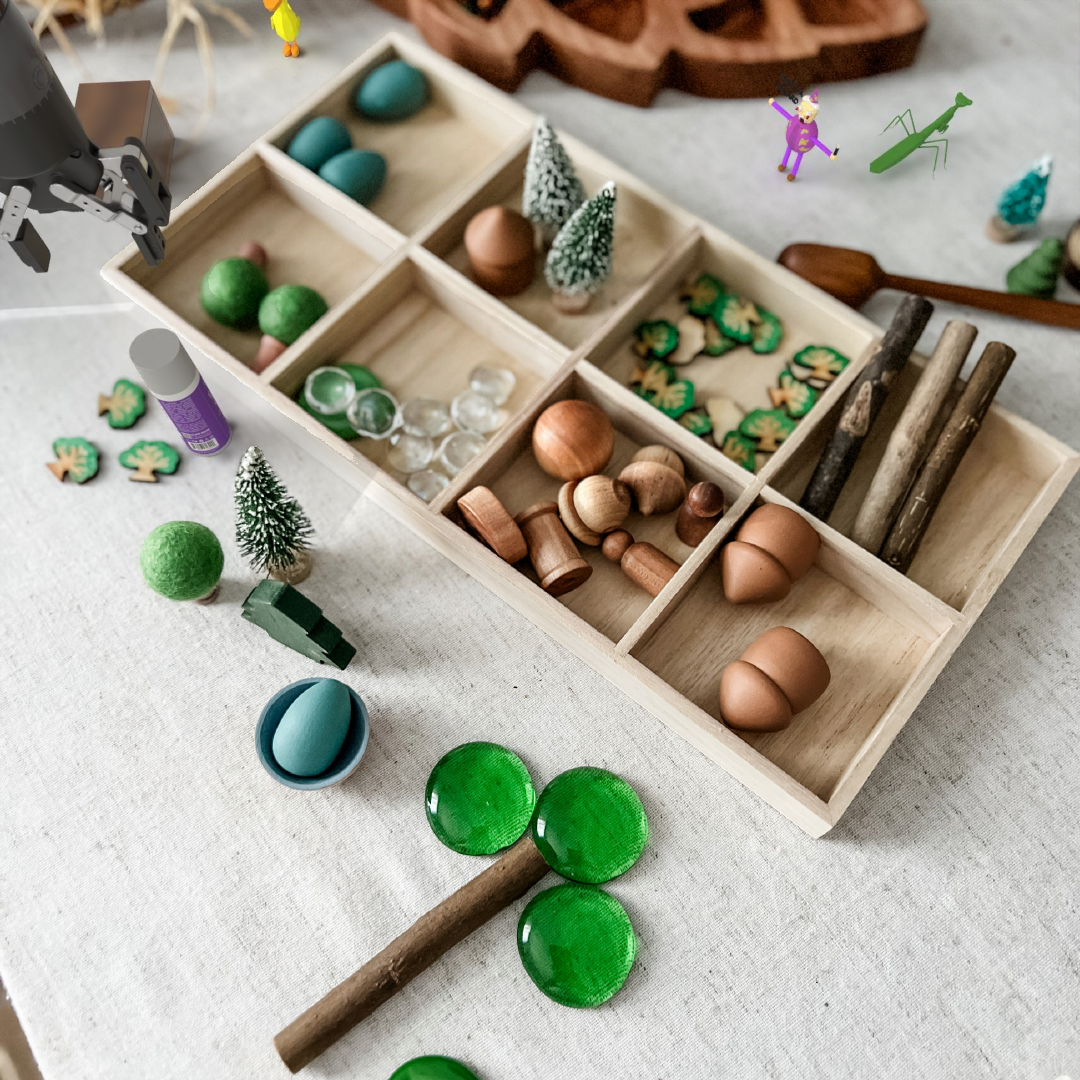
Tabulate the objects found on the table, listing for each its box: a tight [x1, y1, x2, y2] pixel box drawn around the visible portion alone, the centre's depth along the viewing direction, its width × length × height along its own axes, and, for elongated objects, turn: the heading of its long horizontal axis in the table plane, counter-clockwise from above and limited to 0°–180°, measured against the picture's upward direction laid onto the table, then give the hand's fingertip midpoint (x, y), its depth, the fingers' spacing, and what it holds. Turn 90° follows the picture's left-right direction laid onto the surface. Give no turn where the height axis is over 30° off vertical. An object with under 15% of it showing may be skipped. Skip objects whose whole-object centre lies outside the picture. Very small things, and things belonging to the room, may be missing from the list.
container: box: [128, 327, 233, 457], centre depth 89 cm, size 5×5×15 cm
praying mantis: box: [869, 91, 974, 179], centre depth 111 cm, size 9×15×4 cm, turn 127°
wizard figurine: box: [768, 72, 841, 182], centre depth 106 cm, size 11×3×12 cm, turn 35°
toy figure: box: [262, 0, 302, 58], centre depth 114 cm, size 7×4×12 cm, turn 176°
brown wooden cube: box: [74, 79, 175, 200], centre depth 108 cm, size 8×10×8 cm
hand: (100, 261), depth 72 cm, fingers open, 8 cm apart
